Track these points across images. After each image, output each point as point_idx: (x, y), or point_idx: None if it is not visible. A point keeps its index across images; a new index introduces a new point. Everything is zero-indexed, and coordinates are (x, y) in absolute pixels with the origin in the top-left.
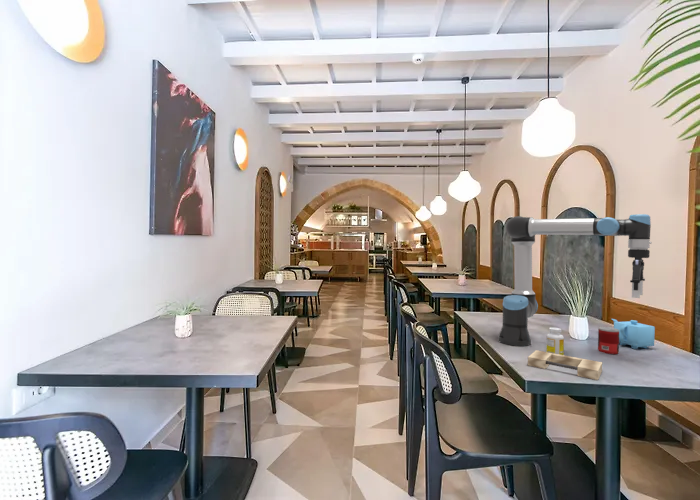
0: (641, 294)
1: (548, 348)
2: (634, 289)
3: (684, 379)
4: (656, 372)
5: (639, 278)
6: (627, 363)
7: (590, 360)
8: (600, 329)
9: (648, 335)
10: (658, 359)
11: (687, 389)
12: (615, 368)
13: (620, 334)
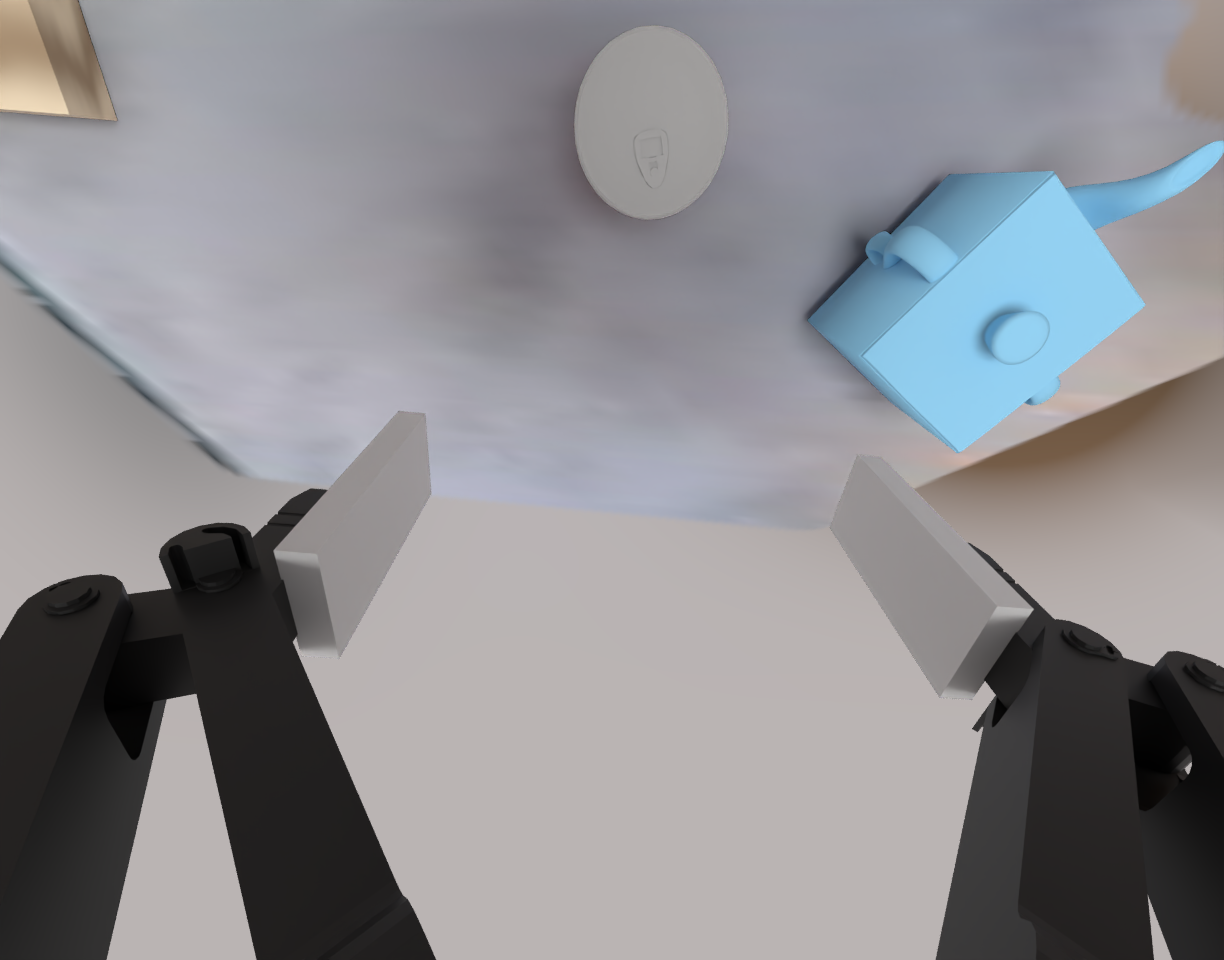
0: (836, 524)
1: None
2: (299, 505)
3: (352, 462)
4: (367, 376)
5: (130, 744)
6: (429, 257)
7: (30, 29)
8: (604, 49)
9: (893, 397)
10: (642, 399)
11: (209, 457)
12: (256, 194)
13: (935, 225)
